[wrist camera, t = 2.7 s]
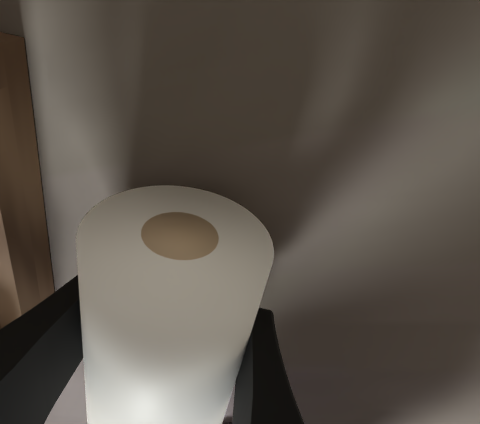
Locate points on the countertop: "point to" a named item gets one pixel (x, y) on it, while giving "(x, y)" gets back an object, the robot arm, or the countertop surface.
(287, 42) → the countertop surface
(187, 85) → the countertop surface
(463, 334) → the countertop surface
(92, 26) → the countertop surface
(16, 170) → the holder
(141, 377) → the roll
